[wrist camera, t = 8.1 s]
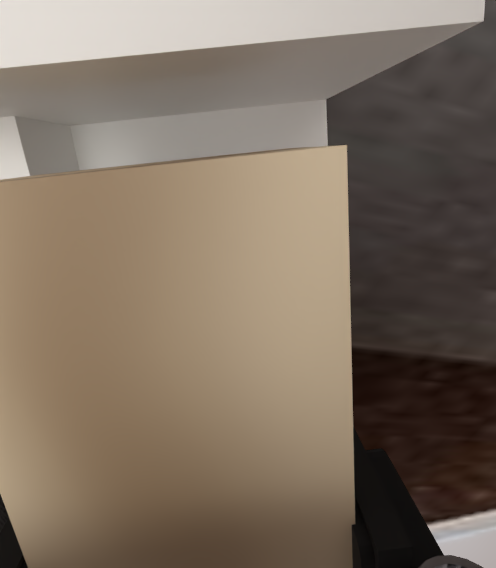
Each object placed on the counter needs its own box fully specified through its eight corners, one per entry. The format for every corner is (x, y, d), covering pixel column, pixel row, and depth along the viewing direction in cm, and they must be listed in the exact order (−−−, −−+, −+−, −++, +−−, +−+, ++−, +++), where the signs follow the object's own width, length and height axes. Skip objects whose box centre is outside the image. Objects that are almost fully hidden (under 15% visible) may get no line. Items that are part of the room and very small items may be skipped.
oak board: (287, 148, 8) (347, 144, 5) (319, 616, 13) (361, 813, 9) (41, 174, 8) (-113, 194, 4) (159, 640, 13) (133, 851, 9)
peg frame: (317, 58, 15) (492, -110, 5) (335, 488, 21) (430, 763, 12) (41, 85, 14) (-297, -42, 5) (143, 514, 21) (78, 819, 11)
